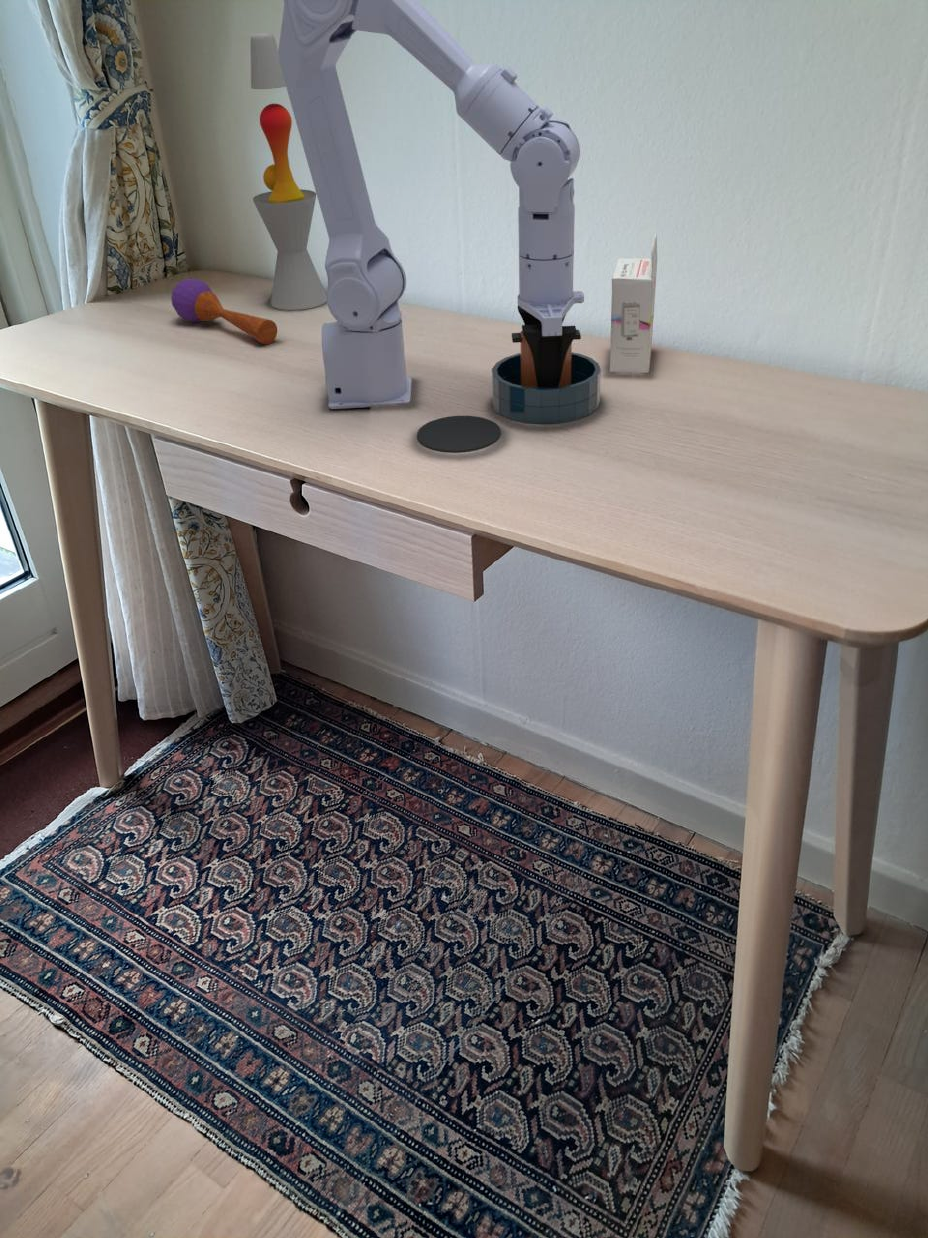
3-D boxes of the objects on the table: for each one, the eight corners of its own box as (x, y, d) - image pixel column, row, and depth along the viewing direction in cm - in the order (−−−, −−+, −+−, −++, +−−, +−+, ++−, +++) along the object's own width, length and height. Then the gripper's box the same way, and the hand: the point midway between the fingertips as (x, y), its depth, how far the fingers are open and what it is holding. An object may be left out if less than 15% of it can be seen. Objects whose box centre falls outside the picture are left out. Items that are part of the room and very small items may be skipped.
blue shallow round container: (495, 431, 107) (494, 392, 104) (490, 389, 117) (489, 352, 114) (605, 426, 107) (607, 386, 104) (591, 384, 117) (592, 347, 114)
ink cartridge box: (612, 351, 125) (617, 231, 117) (651, 352, 125) (659, 231, 116) (607, 376, 119) (611, 250, 110) (648, 377, 118) (656, 250, 109)
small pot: (514, 413, 109) (513, 342, 105) (511, 394, 114) (510, 325, 109) (581, 409, 109) (582, 339, 105) (575, 390, 114) (577, 322, 109)
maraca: (244, 321, 129) (157, 284, 140) (256, 361, 133) (171, 322, 144) (278, 302, 132) (191, 267, 142) (289, 341, 136) (203, 304, 147)
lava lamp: (341, 298, 149) (310, 30, 129) (294, 314, 144) (254, 37, 124) (303, 288, 154) (268, 29, 134) (257, 303, 149) (213, 35, 129)
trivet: (416, 459, 102) (416, 452, 102) (418, 424, 110) (417, 417, 109) (503, 455, 102) (502, 448, 102) (498, 420, 109) (498, 413, 109)
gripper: (593, 270, 96) (589, 401, 104) (576, 233, 108) (574, 353, 116) (521, 274, 96) (523, 405, 104) (512, 236, 108) (514, 356, 116)
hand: (545, 378), depth 110 cm, fingers closed on small pot, 5 cm apart
